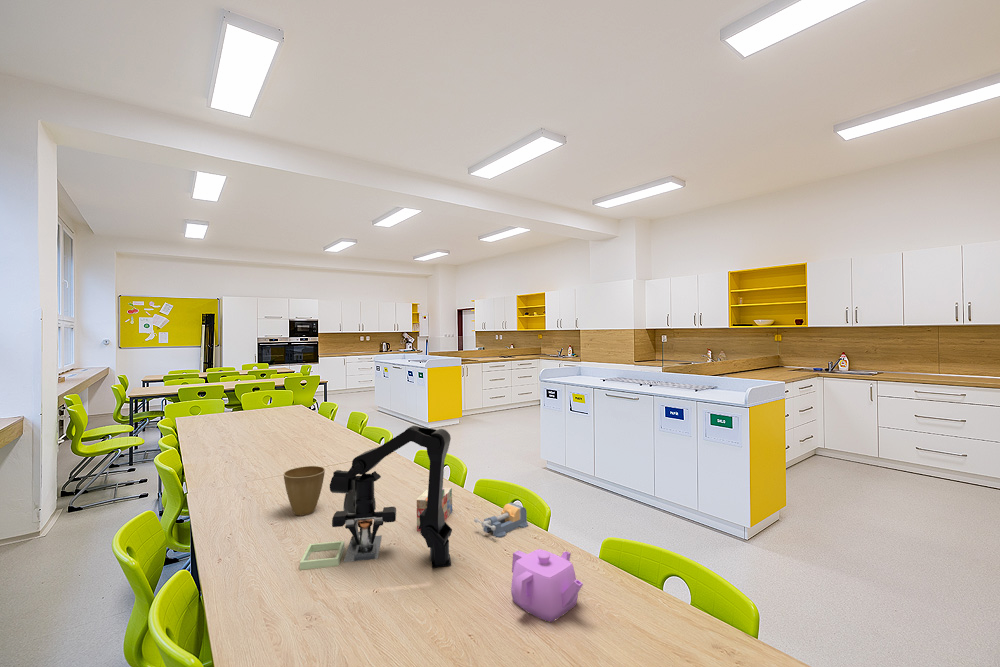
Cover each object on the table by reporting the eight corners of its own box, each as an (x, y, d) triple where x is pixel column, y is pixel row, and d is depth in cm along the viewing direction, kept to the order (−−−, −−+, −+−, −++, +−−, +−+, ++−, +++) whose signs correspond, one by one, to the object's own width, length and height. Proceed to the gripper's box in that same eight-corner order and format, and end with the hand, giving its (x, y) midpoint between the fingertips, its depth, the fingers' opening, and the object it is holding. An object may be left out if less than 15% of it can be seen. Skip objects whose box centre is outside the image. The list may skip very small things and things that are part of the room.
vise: (510, 517, 167) (510, 499, 167) (530, 526, 159) (530, 507, 159) (473, 532, 155) (473, 513, 155) (493, 542, 147) (493, 522, 147)
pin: (372, 556, 137) (371, 523, 137) (357, 557, 136) (356, 524, 136) (373, 549, 141) (373, 517, 141) (359, 551, 140) (358, 518, 140)
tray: (338, 569, 131) (338, 558, 131) (300, 573, 130) (299, 562, 130) (344, 550, 143) (344, 540, 143) (309, 553, 141) (309, 544, 141)
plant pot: (290, 523, 164) (289, 479, 164) (279, 511, 176) (279, 470, 176) (330, 512, 174) (330, 471, 174) (318, 501, 185) (318, 463, 185)
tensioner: (377, 561, 135) (377, 547, 135) (343, 565, 133) (343, 550, 133) (381, 538, 151) (381, 525, 151) (351, 541, 149) (351, 528, 149)
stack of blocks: (437, 510, 175) (437, 479, 175) (452, 511, 174) (452, 479, 174) (416, 534, 154) (416, 499, 154) (433, 536, 153) (433, 500, 153)
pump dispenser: (337, 520, 167) (336, 479, 167) (357, 510, 176) (357, 471, 176) (357, 525, 162) (356, 483, 162) (377, 514, 171) (376, 475, 171)
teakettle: (510, 584, 122) (509, 539, 122) (572, 583, 122) (571, 538, 122) (512, 625, 105) (512, 573, 105) (584, 623, 105) (583, 571, 105)
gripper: (396, 483, 148) (397, 529, 148) (337, 487, 145) (338, 535, 145) (395, 494, 137) (395, 545, 137) (331, 499, 134) (332, 551, 134)
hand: (365, 543), depth 139 cm, fingers closed on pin, 4 cm apart
